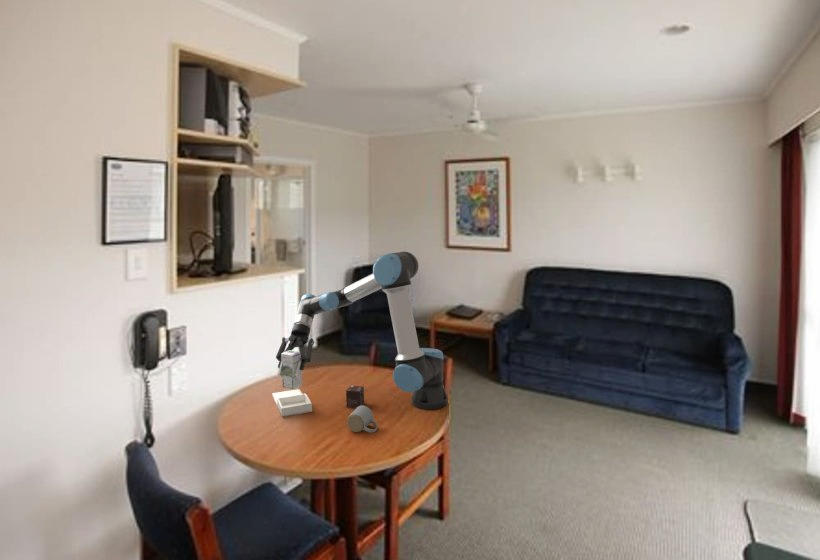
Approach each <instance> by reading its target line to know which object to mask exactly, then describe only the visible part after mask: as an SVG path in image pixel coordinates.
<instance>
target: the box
mask: <svg viewBox="0 0 820 560" xmlns="http://www.w3.org/2000/svg"><path fill="white" fill-rule="evenodd" d="M364 387H365V386H362V385H350V386H348V387H347V389H346V392H345V396H346V397H345V398H346V408H351V409H352V408H353V409H354V408H355V409H356V408H357V407H358V406H364V404H365V390H364V389H365V388H364Z"/></svg>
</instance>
